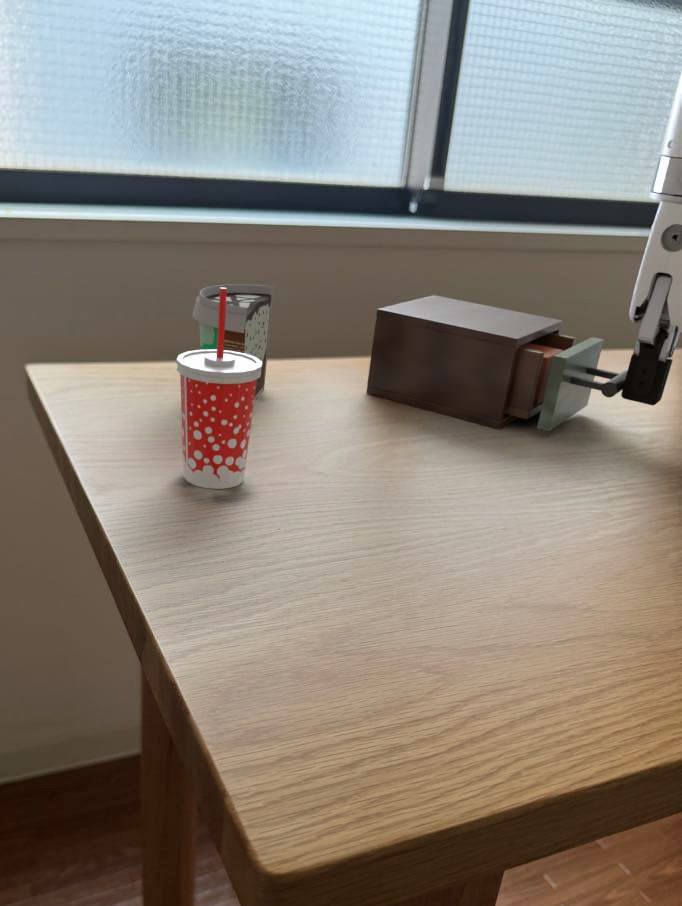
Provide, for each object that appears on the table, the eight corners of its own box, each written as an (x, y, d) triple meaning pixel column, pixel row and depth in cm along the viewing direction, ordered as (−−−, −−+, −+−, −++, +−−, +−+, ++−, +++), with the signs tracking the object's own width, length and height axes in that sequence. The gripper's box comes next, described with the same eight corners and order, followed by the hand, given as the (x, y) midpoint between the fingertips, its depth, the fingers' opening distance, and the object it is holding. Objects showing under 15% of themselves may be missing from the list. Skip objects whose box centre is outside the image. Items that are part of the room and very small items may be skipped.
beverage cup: (269, 485, 64) (284, 295, 58) (196, 498, 61) (204, 298, 54) (229, 457, 68) (239, 278, 62) (159, 468, 65) (163, 280, 59)
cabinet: (544, 402, 90) (563, 320, 86) (498, 429, 80) (517, 338, 77) (421, 371, 97) (433, 295, 93) (365, 393, 88) (377, 308, 84)
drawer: (630, 416, 85) (648, 348, 82) (595, 443, 76) (615, 369, 73) (465, 376, 93) (477, 313, 90) (418, 396, 85) (429, 328, 82)
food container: (209, 377, 88) (214, 278, 84) (267, 385, 87) (274, 285, 83) (172, 411, 77) (175, 300, 73) (238, 421, 76) (245, 308, 72)
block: (553, 395, 85) (563, 350, 83) (537, 405, 82) (547, 357, 80) (509, 385, 87) (519, 340, 85) (492, 393, 84) (501, 347, 82)
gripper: (735, 192, 62) (663, 429, 71) (763, 189, 74) (699, 394, 82) (631, 180, 66) (574, 407, 74) (673, 179, 77) (620, 376, 86)
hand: (640, 399), depth 78 cm, fingers closed
